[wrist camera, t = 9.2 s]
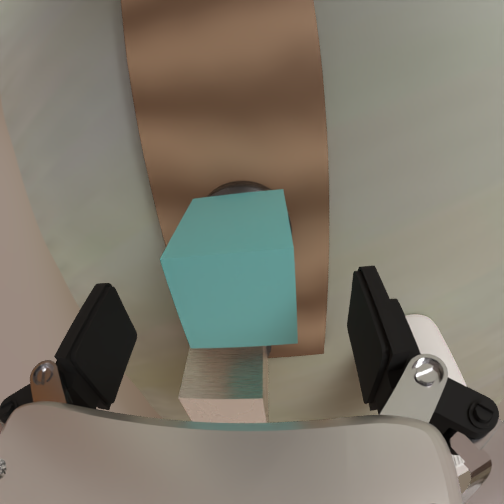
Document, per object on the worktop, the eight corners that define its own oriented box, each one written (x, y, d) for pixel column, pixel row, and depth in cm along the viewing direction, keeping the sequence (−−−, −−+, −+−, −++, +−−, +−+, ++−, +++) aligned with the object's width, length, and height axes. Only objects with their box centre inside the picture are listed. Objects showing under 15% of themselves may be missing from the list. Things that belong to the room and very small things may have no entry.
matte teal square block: (193, 198, 17) (160, 259, 12) (283, 189, 17) (293, 247, 11) (209, 272, 20) (190, 348, 14) (289, 266, 20) (297, 343, 14)
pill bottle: (441, 301, 24) (509, 439, 11) (428, 355, 28) (471, 473, 15) (362, 321, 25) (406, 484, 12) (361, 373, 29) (388, 503, 16)
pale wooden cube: (191, 311, 23) (170, 394, 17) (268, 307, 23) (268, 394, 16) (207, 359, 26) (195, 434, 20) (273, 357, 26) (274, 435, 19)
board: (126, -8, 12) (120, -12, 11) (303, -38, 11) (305, -44, 10) (203, 352, 27) (202, 360, 26) (322, 345, 26) (323, 353, 26)
